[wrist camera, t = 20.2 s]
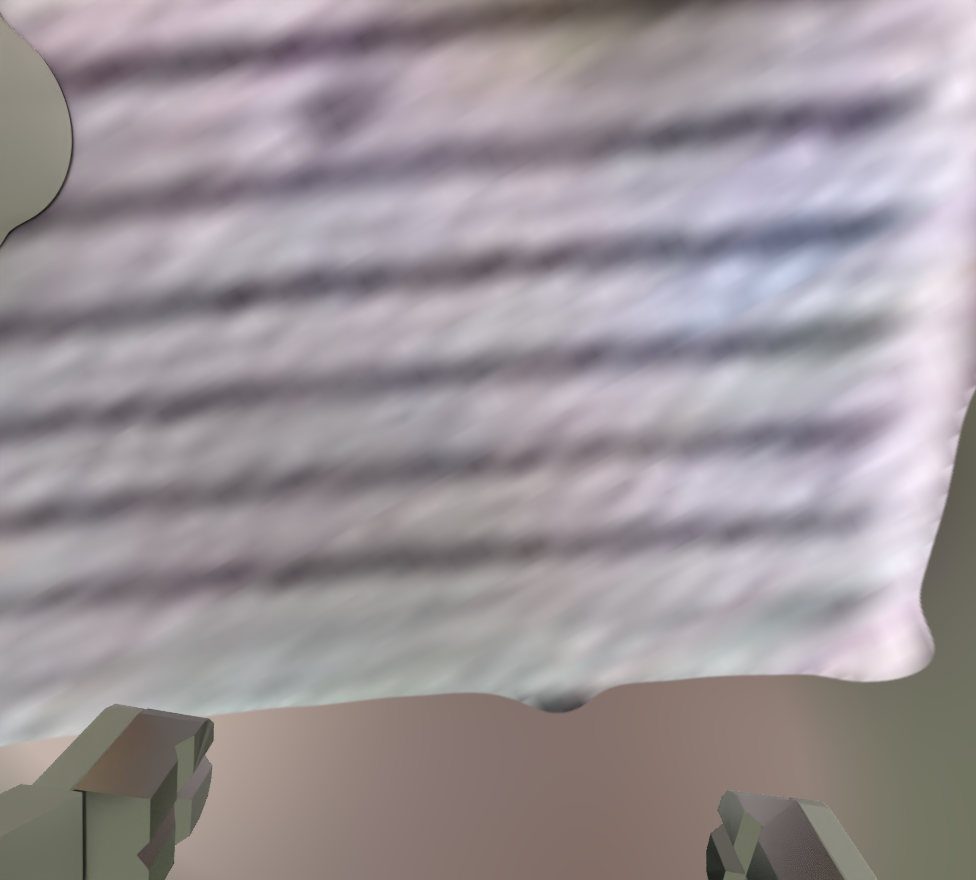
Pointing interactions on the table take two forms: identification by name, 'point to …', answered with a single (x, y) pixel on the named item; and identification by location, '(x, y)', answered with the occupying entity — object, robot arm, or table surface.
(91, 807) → the robot arm
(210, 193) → the table surface
